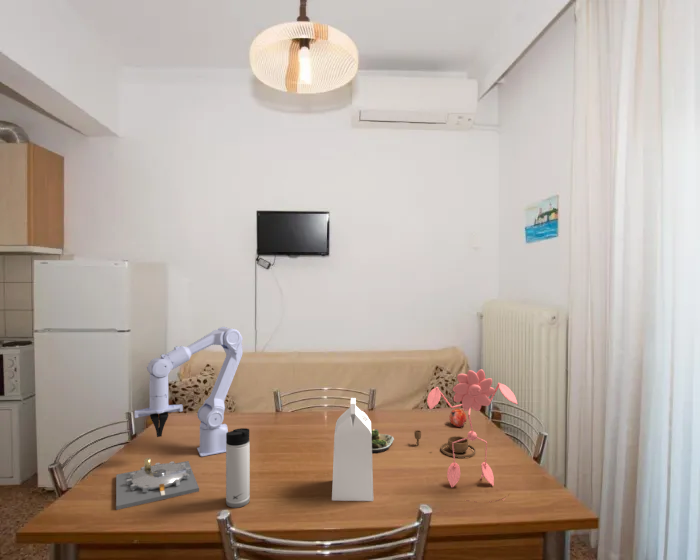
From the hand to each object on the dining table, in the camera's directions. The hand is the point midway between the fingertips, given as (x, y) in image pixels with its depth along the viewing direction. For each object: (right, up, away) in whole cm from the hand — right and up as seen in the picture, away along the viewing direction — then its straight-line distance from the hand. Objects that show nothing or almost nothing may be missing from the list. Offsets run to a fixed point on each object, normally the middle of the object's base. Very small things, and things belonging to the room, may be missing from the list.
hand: (159, 435), depth 143 cm
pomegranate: (+108, -10, +37) cm, 115 cm away
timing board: (+5, -9, -14) cm, 18 cm away
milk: (+64, -10, -18) cm, 67 cm away
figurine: (+99, -10, -17) cm, 101 cm away
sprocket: (+6, -8, -13) cm, 16 cm away
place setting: (+99, -10, +13) cm, 100 cm away
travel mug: (+32, -10, -24) cm, 42 cm away
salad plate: (+70, -10, +18) cm, 73 cm away
